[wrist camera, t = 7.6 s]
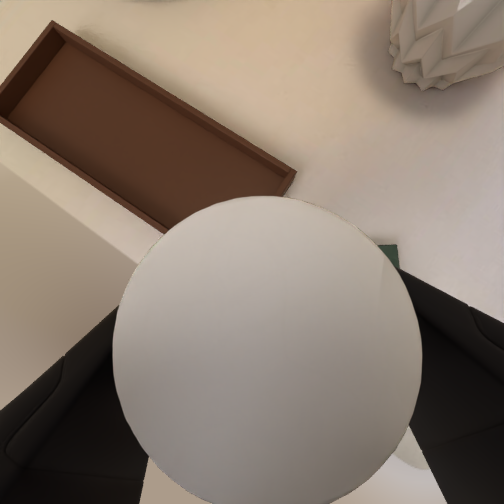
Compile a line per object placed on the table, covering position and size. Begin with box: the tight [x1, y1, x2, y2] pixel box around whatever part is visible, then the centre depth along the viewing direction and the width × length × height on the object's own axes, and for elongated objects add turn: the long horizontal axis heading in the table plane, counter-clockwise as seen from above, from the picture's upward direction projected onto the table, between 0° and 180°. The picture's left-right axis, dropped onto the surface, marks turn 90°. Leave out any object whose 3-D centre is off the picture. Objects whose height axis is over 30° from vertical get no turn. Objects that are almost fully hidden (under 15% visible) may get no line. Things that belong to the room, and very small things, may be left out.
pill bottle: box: [113, 196, 422, 504], centre depth 8 cm, size 6×6×11 cm
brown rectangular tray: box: [0, 20, 297, 234], centre depth 21 cm, size 31×12×2 cm, turn 56°
